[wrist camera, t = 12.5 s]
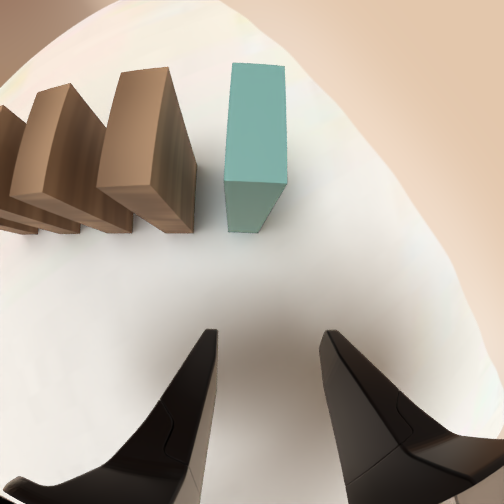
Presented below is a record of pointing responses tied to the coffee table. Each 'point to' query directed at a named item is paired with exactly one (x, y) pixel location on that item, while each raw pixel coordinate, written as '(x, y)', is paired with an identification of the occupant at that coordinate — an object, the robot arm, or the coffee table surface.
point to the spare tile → (255, 145)
